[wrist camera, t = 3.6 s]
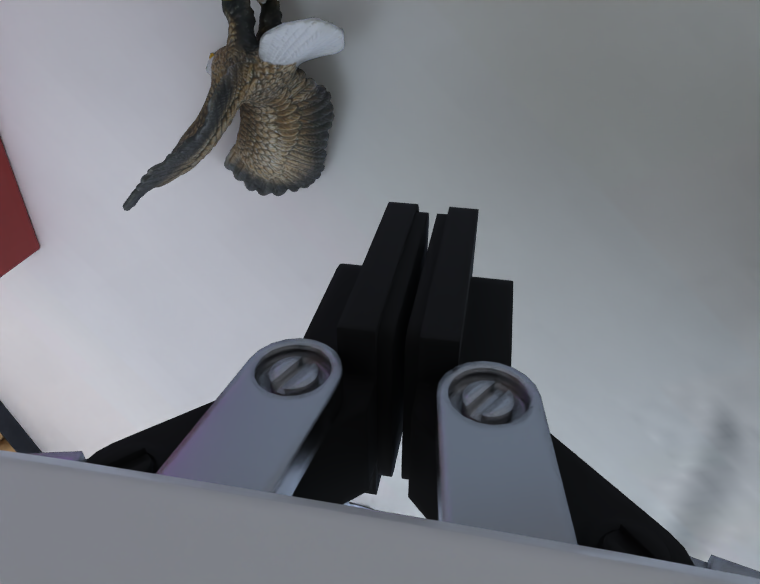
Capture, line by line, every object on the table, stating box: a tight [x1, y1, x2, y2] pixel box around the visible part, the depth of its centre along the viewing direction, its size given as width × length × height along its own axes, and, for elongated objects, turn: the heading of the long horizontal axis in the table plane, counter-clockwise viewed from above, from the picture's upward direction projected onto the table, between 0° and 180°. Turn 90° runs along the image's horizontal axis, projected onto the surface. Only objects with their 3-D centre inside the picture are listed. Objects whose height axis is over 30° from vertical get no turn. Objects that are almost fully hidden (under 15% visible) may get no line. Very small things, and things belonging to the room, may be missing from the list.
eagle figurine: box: [123, 0, 345, 211], centre depth 21 cm, size 8×7×9 cm
